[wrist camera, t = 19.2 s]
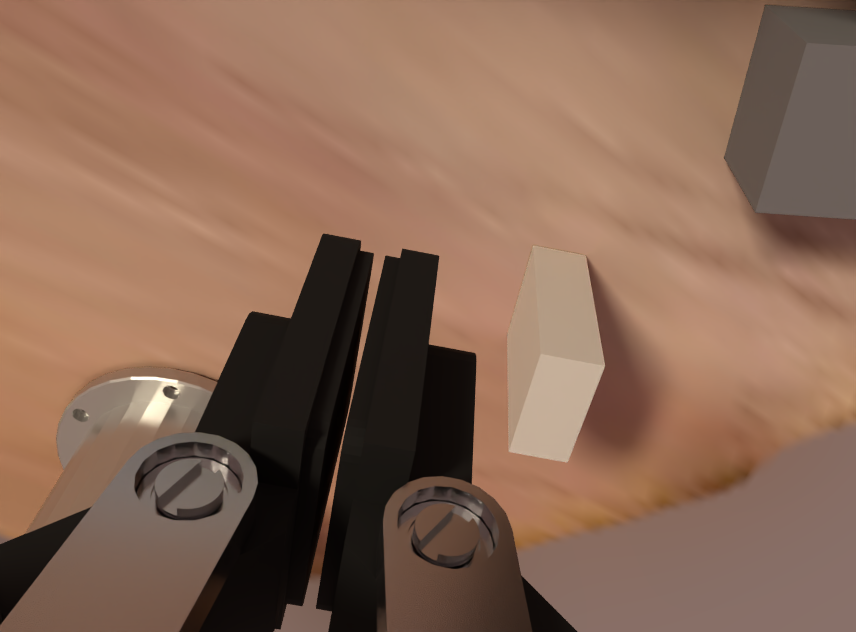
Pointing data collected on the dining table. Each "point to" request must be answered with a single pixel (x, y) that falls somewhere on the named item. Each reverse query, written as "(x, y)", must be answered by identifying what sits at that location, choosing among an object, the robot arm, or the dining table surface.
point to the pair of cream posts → (552, 355)
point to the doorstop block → (799, 115)
